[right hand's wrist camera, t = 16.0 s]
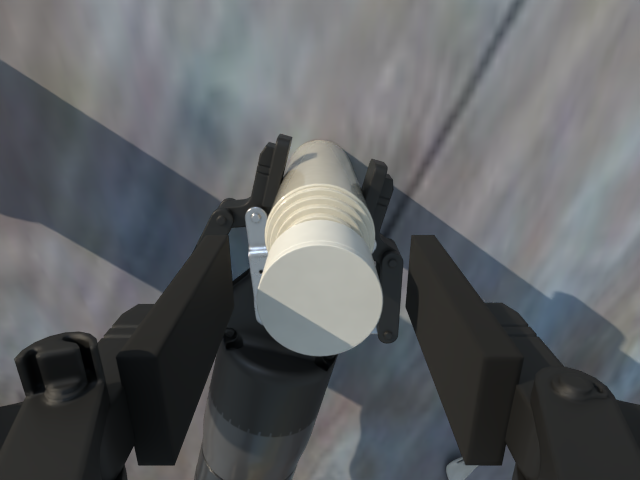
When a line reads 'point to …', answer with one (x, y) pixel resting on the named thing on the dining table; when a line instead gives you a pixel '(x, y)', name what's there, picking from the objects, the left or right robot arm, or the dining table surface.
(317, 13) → the dining table surface
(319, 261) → the cap
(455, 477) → the fork
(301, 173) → the bottle
